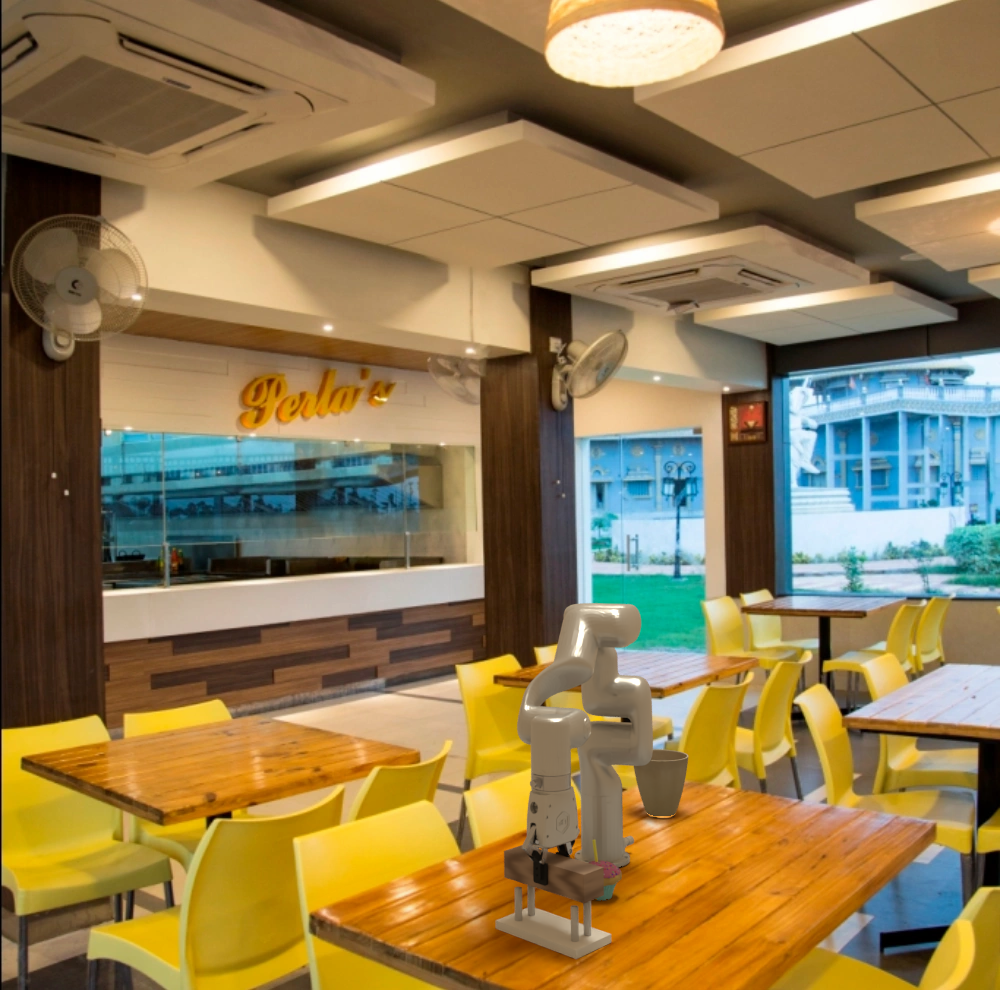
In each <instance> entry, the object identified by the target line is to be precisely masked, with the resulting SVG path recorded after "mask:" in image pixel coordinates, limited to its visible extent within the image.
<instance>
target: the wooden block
mask: <svg viewBox="0 0 1000 990" xmlns="http://www.w3.org/2000/svg"><path fill="white" fill-rule="evenodd" d="M522 845H523V844H521V845H518V846H515V847H513V848H509V849H506V850H504V851H503V867H504V868H503V870H504V871H503V873H504V875H503V876H504V877H503V878H505V879H509V880H512V881H515V882H517V883H521V884H524V885H529V886H532V887H535V889H536V888H537V889H538V890H541V891H546V892H547V893H548V892H549V893H551V894H555V895H557V896H560V897H564V898H567V899H569V900H573V901H576V902H579V903H582V904H583V903H587V902H589V901H591V902H592V901H595V900H594V899H596V898H599V897H601V896H604V868H603V867H600V866H597V865H593V864H590V863H586V862H583V861H579V860H576V859H575V858H572V857H570V858H569V857H565V856H561V855H558V854H556V852H555V853H554V852H550V851H548V852H547V857H546V862H545V863H548V885H546V886H544V885H541V884H538V883H535V882H534V881H533V861H531V858H530V857H529V856H528V854H527V853H526V852H525V851H524V850H523V849H522ZM541 850H542V849H541V848H539V850H538V852H539V854H540V855H541Z"/></svg>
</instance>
